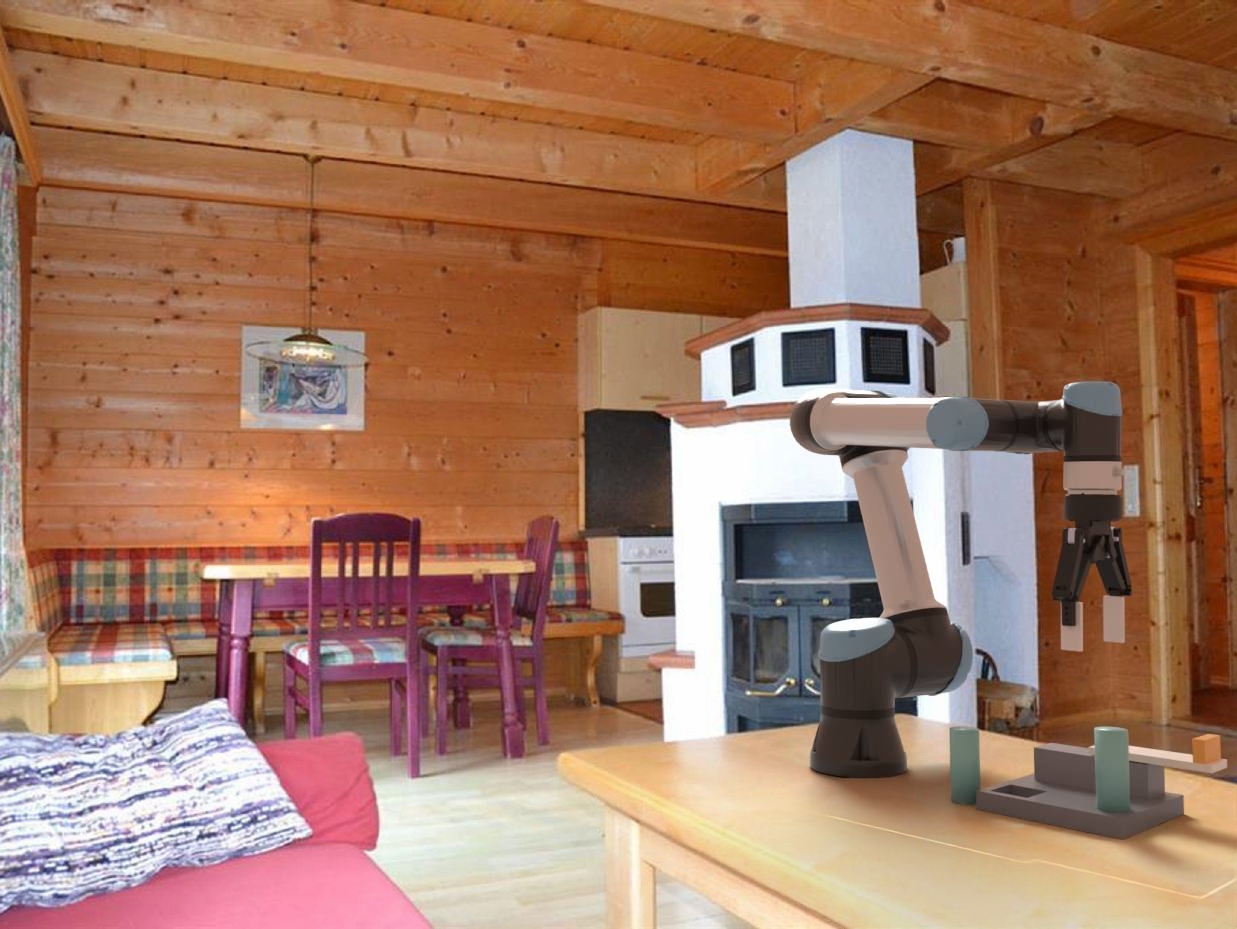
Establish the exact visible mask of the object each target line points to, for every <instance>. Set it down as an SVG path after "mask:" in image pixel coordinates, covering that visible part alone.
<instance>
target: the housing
mask: <svg viewBox="0 0 1237 929" xmlns="http://www.w3.org/2000/svg"><path fill="white" fill-rule="evenodd" d="M1093 733H1094V734H1093V737H1094V738H1093V739H1094V745H1095V755H1089V753H1088V747H1082V746H1075V745H1068V744H1062V743H1055V742H1049V743H1045V744H1041V745H1037V746H1034V747H1033V766H1034V767H1033V770H1034V771H1033V773H1031V774H1027V775H1024V776H1020V777H1017V778H1014V779H1010V780H1007V781H1004V782H1000V783H996V784H994V785H991V786H988V787H984V788H980V790H977V791H976V804H975V805H976V810H979V811H984V812H988V813H993V814H998V815H1002V816H1008V817H1013V818H1017V819H1023V820H1028V821H1032V822H1037V823H1041V824H1046V825H1051V826H1056V827H1061V828H1065V829H1070V830H1075V831H1080V832H1084V833H1085V832H1086V833H1089V834H1095V835H1099V836H1104V837H1109V838H1115V839H1119V840H1125V839H1127V838H1129V837H1132V836H1134V835H1137V834H1139V833H1141V832H1144V831H1147V830H1149V829H1152V828H1154V827H1156V826H1159V825H1161V824H1163V823H1165V822H1168V821H1170V820H1173V819H1176V818H1177V817H1180V816H1183V815H1185V801H1184V800H1185V798H1184V794H1179V793H1174V792H1168V791H1166V788H1165V787H1166V782H1165V781H1166V780H1165V766H1161V765H1154V764H1148V763H1141V762H1135V761H1129V746H1130V745H1129V743H1130V742H1129V730H1128V729H1126V728H1122V727H1116V726H1097V727H1094V729H1093Z"/></svg>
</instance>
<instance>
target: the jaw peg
mask: <svg viewBox="0 0 1237 929" xmlns="http://www.w3.org/2000/svg"><path fill="white" fill-rule="evenodd" d="M980 744H981V743H980V728H977V727H972V726H965V725H964V726H960V725H959V726H951V727H949V771H950V772H949V774H950V775H949V776H950V780H949V781H950V802H952V803H954V804H958V805H967V806H968V805H971V806H972V805H977V804H976V791H977V790H980V789H981V758H980V757H981V753H980V752H981V751H980V750H981V749H980V748H981V747H980V746H981V745H980Z"/></svg>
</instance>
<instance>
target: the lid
mask: <svg viewBox="0 0 1237 929" xmlns="http://www.w3.org/2000/svg"><path fill="white" fill-rule="evenodd" d="M1191 740H1192V743H1191V745H1192V746H1191V747H1192V748H1191V749H1192V754H1190V753H1184V752H1183V753H1182V752H1175V751H1169V750H1163V749H1162V750H1161V749H1155V748H1154V749H1153V748H1147V747H1141V746H1134V745H1129V761H1135V762H1141V763H1148V764H1154V765H1161V766H1164V767H1167V768H1175V769H1181V770H1188V771H1193V772H1201V773H1208V774H1213V773H1217V772H1219V771H1222V770H1224V769H1227V768H1228V760H1227V759H1223V758H1222V756H1221V755H1222V754H1221V752H1222V750H1221V735H1217V734H1212V733H1207V734H1203V735H1200V736H1197V737H1193V738H1192V739H1191ZM1087 748H1088V753H1089V755H1095V744H1093V745H1091V746H1088V747H1087Z"/></svg>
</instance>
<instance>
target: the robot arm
mask: <svg viewBox="0 0 1237 929" xmlns="http://www.w3.org/2000/svg"><path fill="white" fill-rule="evenodd" d="M1062 392H1063V393H1062V396H1061V398H1060V399H1056V400H1040V401H1039V400H1038V401H1032V400H1031V401H1027V400H1014V399H1013V400H1012V399H1011V400H1010V399H1009V400H1008V399H991V398H978V397H977V398H976V397H969V396H960V395H959V396H958V395H957V396H949V397H948V396H947V397H931V398H930V397H916V398H915V397H913V398H912V397H909V398H907V397H906V398H905V397H902V398H901V397H899V396H897V395H896V394H893V393H890V392H884V391H881V390H873V389H872V390H857V389H855V390H853V389H841V388H840V389H839V388H838V389H837V388H820V389H819V388H817V389H814V390H811V391H809V392H807V393H805V394H803V395H802V396H801V397H799V399H798V400H796V402H795V403H794V404H793V407H792V410H791V412H790V415H789V428H790V431H791V434H792V436H793V438H794V440H795V441H796V443H798V445H799V446H801V447H802V448H804V449H805V450H806V451H808V452H810V453H813V454H818V455H823V456H838V457H839V460H840V461H839V462H840V465H841V470H842V472H843V473H844V474H845V475H846V476H848V477H851V479H853V482H854V486H855V491H856V496H857V499H858V500H857V501H858V505H859V508H860V514H861V516H862V521H863V526H864V530H865V534H866V538H867V542H868V543H867V544H868V548H869V552H870V555H871V560H872V564H873V569H874V572H875V573H874V574H875V578H876V581H877V585H878V589H879V594H880V597H881V603H882V607H883V611H882V613H881V614H880V616H879V617H862V618H851V619H845V620H840V621H835V622H833V623H830V624H828V625H826V626H825V627H824V628H823V629H822V631H821V632H820V635H819V636H820V639H819V641H820V642H819V650H818V657H819V678H820V679H819V682H820V683H819V685H820V689H819V690H820V691H819V692H820V694H819V695H820V719H819V723H818V726H817V730H816V733H815V736H814V739H813V743H812V747H811V750H810V752H809V756H810V757H809V764H810V768H811V769H812V770H813V771H817V772H819V773H822V774H826V775H830V776H837V777H845V778H859V779H860V778H862V779H863V778H864V779H869V778H872V779H875V778H889V777H895V776H899V775H902V774H904V773H906V772H907V771H908V757H907V756H908V755H907V752H906V751H905V749H904V744H903V741H902V738H901V735H900V732H899V729H898V726H897V722H896V713H895V712H896V711H895V709H896V706H895V705H896V704H895V702H896V700H895V699H901V698H902V699H903V698H910V697H911V698H912V697H921V696H930V697H934V696H938V695H941V694H945V693H947V694H948V693H950V692H953V691H955V690H957V689H959V688H960V687H961V686H962V685H963V684H964V683H965V682H966V681H967V679H968V675H969V673H970V672H971V669H972V667H973V661H974V660H973V659H974V658H973V657H974V651H973V645H972V640H971V639H970V636H969V633H968V632H967V631H966V629H963V627H962V626H961V625H960V624H958V623H955V622H953V621H951V619H950V616H949V612H948V608H947V606H945V605H944V604H943V603H941V602H939V601H938V600H936V598H935V595H934V591H933V587H932V582H931V578H930V574H929V570H928V566H927V562H926V558H925V554H924V551H923V546H922V542H921V538H920V534H919V531H918V526H917V521H916V518H915V514H914V510H913V507H912V506H913V505H912V502H911V498H910V494H909V490H908V487H907V483H906V478H905V474H904V470H903V467H904V465H905V464H906V462H907V461H908V459H909V453H908V451H909V450H910V448H915V449H932V450H936V449H937V450H949V451H953V452H965V451H966V452H967V451H968V452H969V451H970V452H975V451H976V452H1003V453H1004V452H1005V453H1008V454H1017V455H1021V454H1022V455H1031V454H1034V453H1035V454H1037V453H1051V452H1052V453H1054V452H1061V453H1062V452H1063V481H1062V482H1063V488H1062V489H1063V490H1064V491H1067V494H1065V496H1064V497H1063V519H1064V520H1065V521H1067V522H1074V527H1064V528H1063V529H1062V538H1061V540H1062V542H1061V548H1060V553H1059V556H1058V557H1059V558H1058V562H1057V567H1056V571H1055V576H1054V579H1053V585H1052V590H1051V595H1052V601H1055V602H1060V650H1062V651H1071V652H1080V653H1081V652H1084V618H1083V617H1084V608H1083V607H1084V603H1083V602H1082V601H1081V602H1080V599H1081V595H1082V593H1083V590H1084V588H1085V584H1086V582H1087V579H1088V575H1089V573H1090V569H1091V566H1092V565H1093V564H1095V566H1096V568H1097V571H1098V574H1099V577H1100V580H1101V581H1102V585H1103V587H1104V590H1105V592H1106V595H1102V596H1103V597H1102V598H1103V606H1102V608H1103V610H1102V613H1103V614H1102V615H1103V617H1102V618H1103V623H1102V624H1103V625H1102V626H1103V627H1102V628H1103V642H1107V643H1108V642H1110V643H1119V644H1125V643H1126V640H1125V637H1126V634H1125V633H1126V631H1125V630H1126V629H1125V628H1126V625H1125V624H1126V623H1125V618H1126V617H1125V615H1126V614H1125V606H1126V605H1125V597H1132V594H1133V590H1132V588H1133V587H1132V580H1131V577H1130V572H1129V568H1128V562H1127V559H1126V558H1127V557H1126V553H1125V548H1124V544H1123V529H1122V528H1121V527H1120V526H1111V522H1120V521H1121V520H1122V519H1123V497H1121V495H1120V494H1118V491H1121V490H1122V488H1123V487H1122V486H1123V484H1122V479H1123V476H1124V475H1125V472H1126V471H1125V469H1124V468H1122V464H1123V463H1122V461H1123V460H1122V434H1123V433H1122V431H1123V430H1122V429H1123V428H1122V427H1123V415H1124V414H1123V413H1124V412H1123V408H1122V399H1121V398H1122V397H1121V389H1120V386H1119V385H1118V384H1116V383H1115V382H1111V381H1100V380H1099V381H1098V380H1097V381H1095V380H1093V381H1079V382H1078V381H1077V382H1071V383H1067V384H1066V385H1064V387H1063V391H1062Z"/></svg>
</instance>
